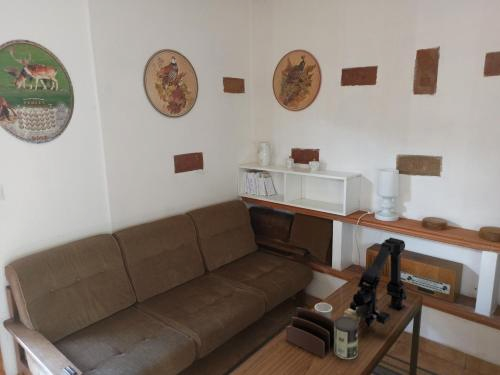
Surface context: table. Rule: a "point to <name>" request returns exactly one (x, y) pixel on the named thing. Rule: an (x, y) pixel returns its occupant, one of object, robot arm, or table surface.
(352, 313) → the block
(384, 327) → the table surface
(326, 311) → the dixie cup
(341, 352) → the coffee can
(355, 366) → the table surface
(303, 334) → the letter holder
